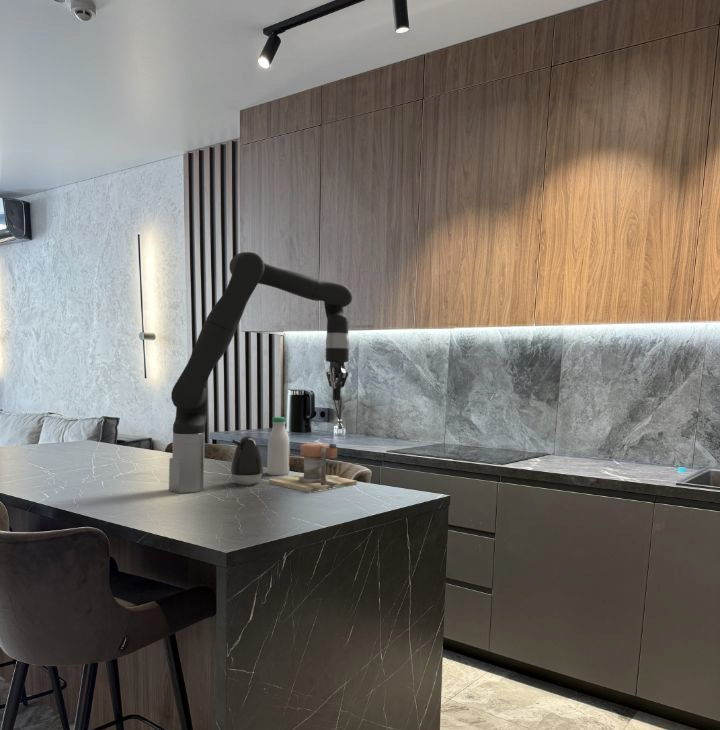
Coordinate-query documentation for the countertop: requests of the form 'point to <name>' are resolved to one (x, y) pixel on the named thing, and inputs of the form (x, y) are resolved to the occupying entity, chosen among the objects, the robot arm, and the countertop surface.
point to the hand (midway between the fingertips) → (336, 400)
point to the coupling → (318, 450)
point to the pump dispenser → (246, 462)
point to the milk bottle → (278, 448)
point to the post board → (309, 486)
